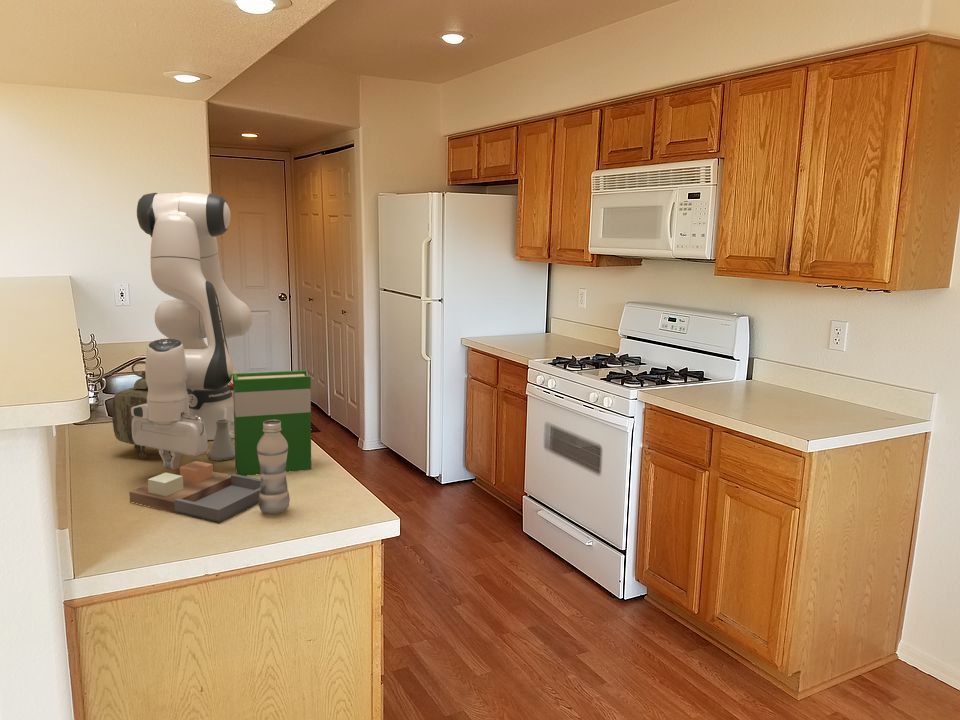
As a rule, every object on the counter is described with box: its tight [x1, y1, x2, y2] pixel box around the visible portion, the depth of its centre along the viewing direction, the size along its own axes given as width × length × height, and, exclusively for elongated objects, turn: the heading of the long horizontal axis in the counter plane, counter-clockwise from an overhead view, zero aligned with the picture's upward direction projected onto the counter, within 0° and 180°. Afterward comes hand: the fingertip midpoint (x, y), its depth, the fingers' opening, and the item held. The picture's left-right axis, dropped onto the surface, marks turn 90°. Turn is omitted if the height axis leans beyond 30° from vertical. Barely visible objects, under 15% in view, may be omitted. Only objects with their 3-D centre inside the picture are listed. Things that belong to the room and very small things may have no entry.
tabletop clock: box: [111, 360, 171, 459], centre depth 189 cm, size 14×9×25 cm, turn 75°
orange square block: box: [179, 460, 214, 483], centre depth 169 cm, size 5×5×3 cm
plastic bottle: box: [257, 420, 291, 515], centre depth 155 cm, size 6×7×20 cm
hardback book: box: [232, 369, 312, 477], centre depth 182 cm, size 18×7×24 cm, turn 112°
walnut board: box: [129, 471, 232, 514], centre depth 166 cm, size 18×13×2 cm
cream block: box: [147, 472, 183, 496], centre depth 161 cm, size 5×5×3 cm
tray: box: [174, 473, 261, 525], centre depth 161 cm, size 18×12×3 cm, turn 157°
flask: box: [207, 419, 235, 462], centre depth 191 cm, size 7×7×10 cm
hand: (171, 467), depth 171 cm, fingers closed
